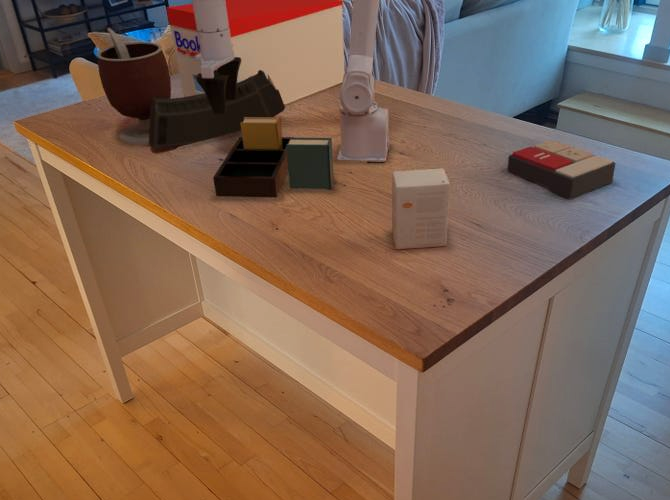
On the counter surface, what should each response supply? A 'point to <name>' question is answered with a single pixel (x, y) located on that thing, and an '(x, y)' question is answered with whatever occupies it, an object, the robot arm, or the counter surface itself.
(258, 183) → the caddy
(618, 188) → the counter surface
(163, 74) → the mate gourd
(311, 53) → the bookstore
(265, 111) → the magazine
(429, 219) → the small box
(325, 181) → the teal book
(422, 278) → the counter surface
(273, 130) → the mustard book
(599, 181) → the red and beige box
